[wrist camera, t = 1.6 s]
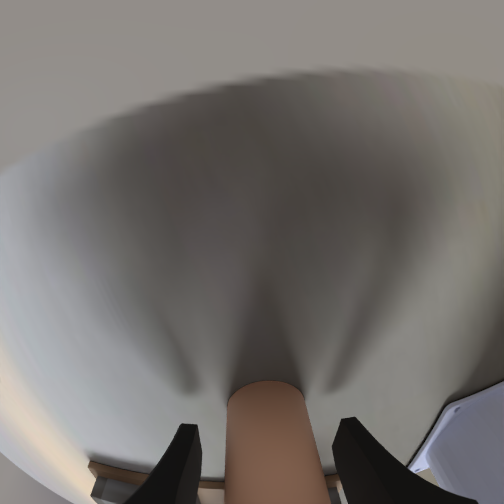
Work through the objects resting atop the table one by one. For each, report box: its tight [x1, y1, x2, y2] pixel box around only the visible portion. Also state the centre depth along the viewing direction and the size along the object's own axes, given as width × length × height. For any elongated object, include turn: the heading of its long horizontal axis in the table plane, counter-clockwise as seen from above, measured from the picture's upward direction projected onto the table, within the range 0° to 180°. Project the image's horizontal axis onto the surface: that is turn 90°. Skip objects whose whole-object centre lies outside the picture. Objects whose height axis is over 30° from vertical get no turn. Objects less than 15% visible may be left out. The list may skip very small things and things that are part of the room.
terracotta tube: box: [224, 381, 331, 504], centre depth 8 cm, size 4×4×7 cm
